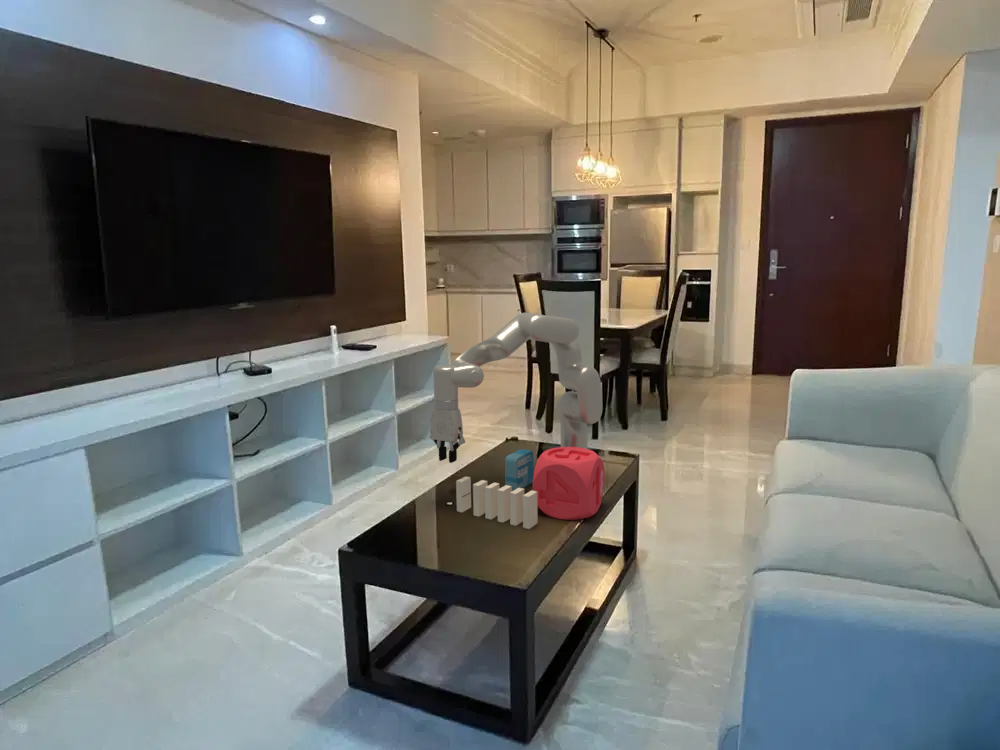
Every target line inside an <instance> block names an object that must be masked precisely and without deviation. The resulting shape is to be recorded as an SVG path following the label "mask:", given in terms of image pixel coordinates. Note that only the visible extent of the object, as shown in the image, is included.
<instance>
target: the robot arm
mask: <svg viewBox="0 0 1000 750" xmlns="http://www.w3.org/2000/svg"><path fill="white" fill-rule="evenodd" d="M579 333H580V328H579V325H578V323H576V321H575V320H573V319H572V318H569V317H560V316H556V315H544V314H539V313H534V312H522V313H519V314H517V315H516V316H515V317H514V318H512V319H511V320H510V321H509V322H508V323H505V325H504V326H503V327H501V328H500V329H499V330H498V331H497V332H496V333H494V334H493V335H492V336H490V337H488V338H486V339H484V340H482V341H481V342H479V343H477V344H475V345H474V344H473V346H470V347H469V348H467V349H466V350H465V351H463V352H462V353H461V354H459V355H458V356H457V357H456V358H455V359H454V360H453V361H452V362H451V363H450V364H439V365H436V366H435V367H434V368H433V372H432V375H433V399H432V400H431V402H432V404H433V405H434V406H433V408H432V410H431V413H430V422H429V423H430V424H429V426H430V427H429V428H430V429H429V432H430V433H429V438H430V439H431V440H432V441H433V442H434V444H435V445H436V449H438V461H440V462H442V461H444V460H446V459H447V458H448V462H449V463H450V464H453V463H454V462H457V458H458V452H457V450H458V449H459V447H460V446H462V445H463V444H465V443H466V440H465V437H464V436H463V434H464V428H463V426H464V425H463V419H462V413H461V409H460V408H459V388H465V389H471V388H477V387H479V386H480V385H481V384H482V383H483V381H484V379H485V374H484V371H483V369H482V368H481V366H483V365H486V364H488V363H491V362H495V361H496V362H497V361H500V360H504V359H508V358H509V357H510V356H511V355H513V353H514V352H516V351H517V350H518V349H520V347H522V346H523V345H525V343H527V342H528V341H529V340H532V341H536V342H537V341H538V342H544V343H550V344H551V345H552V346H553V348H554V351H555V354H556V361H557V370H558V371H557V372H558V380H559V383H560V385H561V386H562V387H563V388H564V389H565V388H566V389H568V390H570V391H566V392H564V393H563V394H562V395H561V396H560V397H559V399H558V403H557V410H558V411H557V412H558V417H559V423H560V424H559V425H560V447H579V448H585V449H588V436H589V435H588V434H589V433H588V425H593V424H596V423H597V422H598V421H599V420H600V419H601V416H602V414H603V395H602V381H601V377H600V374H599V372H598V371H597V370H596V368H594V367H593V366H591V365H587V364H585V363H584V362H583V357H582V349H581V344H580V341H579V340H578V336H579ZM446 443H448V444H449V450H448V456H447V446H446Z"/></svg>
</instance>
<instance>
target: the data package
mask: <svg viewBox="0 0 1000 750" xmlns="http://www.w3.org/2000/svg"><path fill="white" fill-rule="evenodd" d="M504 462H505V463H504V468H505V469H504V470H505V472H504V474H505V475H504V477H505V484H504V486H505V485H508V486H512V491H514V490H516V489H517V488H523V489H525V488H526V487H528V486H529V485H531V484H533V475H534V452H533V450H529V449H523V448H521V449H518V450H516V451H514V452H512V453H510V454H509V455H506V457H505V460H504Z"/></svg>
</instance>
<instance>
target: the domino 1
mask: <svg viewBox="0 0 1000 750" xmlns="http://www.w3.org/2000/svg"><path fill="white" fill-rule="evenodd" d="M471 478H472V477H470V476H463V477H461V478H459V479H457V480H456V481H455V485H456V486H455V487H456V490H455V491H456V493H455V494H456V495H455V496H456V497H455V498H456V512H459V513H464V512H466V511H467V510H469V509H471V508H472V487H471V485H472V482H471Z"/></svg>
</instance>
